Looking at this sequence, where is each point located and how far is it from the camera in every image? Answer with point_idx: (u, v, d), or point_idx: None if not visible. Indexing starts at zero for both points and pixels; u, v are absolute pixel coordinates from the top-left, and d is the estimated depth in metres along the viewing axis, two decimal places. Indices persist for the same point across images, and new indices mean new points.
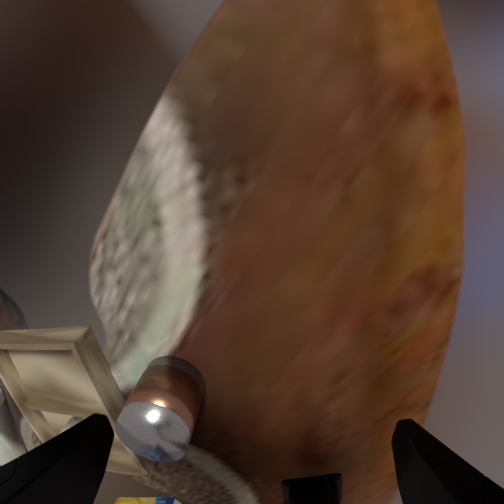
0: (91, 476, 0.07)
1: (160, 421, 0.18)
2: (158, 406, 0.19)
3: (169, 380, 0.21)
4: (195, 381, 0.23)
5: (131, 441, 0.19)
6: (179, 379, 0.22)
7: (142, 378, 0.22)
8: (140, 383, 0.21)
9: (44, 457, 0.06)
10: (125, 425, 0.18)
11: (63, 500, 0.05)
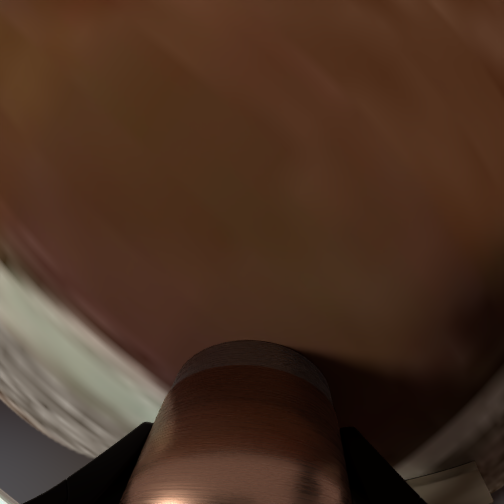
0: None
1: None
2: None
3: None
4: (203, 374, 0.08)
5: None
6: (160, 415, 0.07)
7: None
8: None
9: (98, 476, 0.05)
10: None
11: None
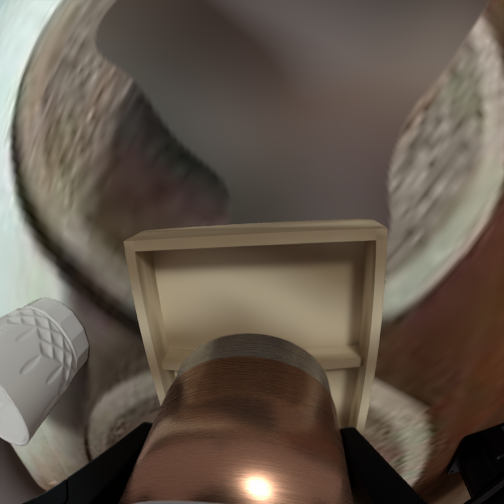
0: None
1: None
2: None
3: None
4: (206, 365, 0.08)
5: None
6: (164, 405, 0.07)
7: None
8: None
9: (98, 476, 0.05)
10: None
11: None
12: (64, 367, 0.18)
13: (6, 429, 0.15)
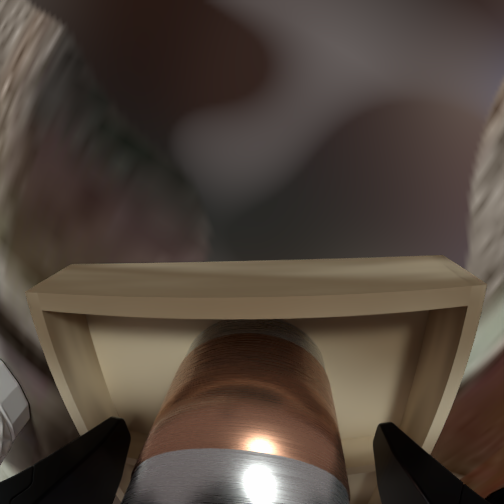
0: (109, 481, 0.07)
1: None
2: (132, 476, 0.05)
3: (163, 401, 0.08)
4: (214, 341, 0.09)
5: None
6: (176, 377, 0.09)
7: None
8: None
9: (62, 464, 0.06)
10: None
11: None
12: None
13: None
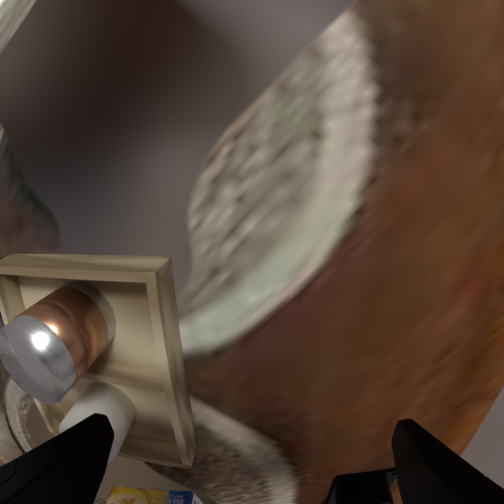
0: (91, 476, 0.07)
1: None
2: None
3: None
4: None
5: (41, 391, 0.14)
6: None
7: None
8: None
9: (44, 457, 0.06)
10: (19, 380, 0.14)
11: (63, 500, 0.05)
12: None
13: None
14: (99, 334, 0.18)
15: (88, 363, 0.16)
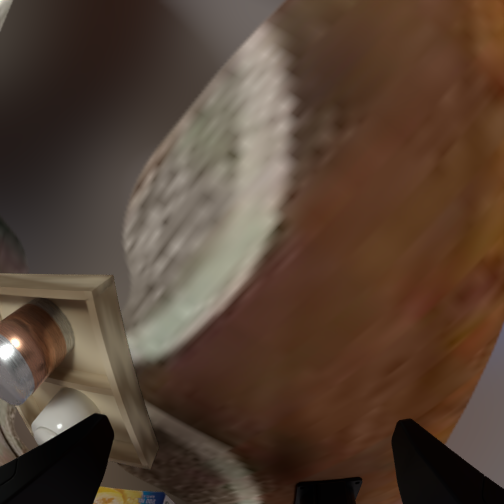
0: (91, 476, 0.07)
1: None
2: None
3: None
4: (21, 306, 0.19)
5: (9, 394, 0.15)
6: None
7: None
8: None
9: (44, 457, 0.06)
10: None
11: (63, 500, 0.05)
12: None
13: None
14: (56, 345, 0.19)
15: (46, 370, 0.17)
